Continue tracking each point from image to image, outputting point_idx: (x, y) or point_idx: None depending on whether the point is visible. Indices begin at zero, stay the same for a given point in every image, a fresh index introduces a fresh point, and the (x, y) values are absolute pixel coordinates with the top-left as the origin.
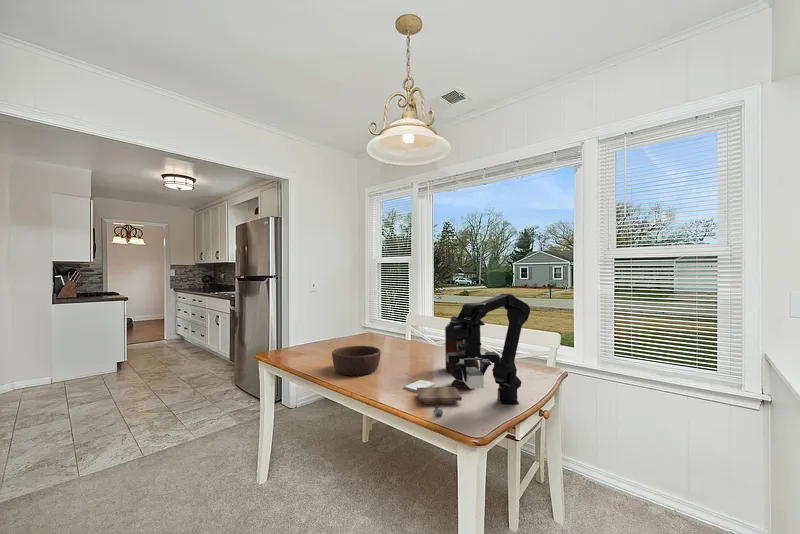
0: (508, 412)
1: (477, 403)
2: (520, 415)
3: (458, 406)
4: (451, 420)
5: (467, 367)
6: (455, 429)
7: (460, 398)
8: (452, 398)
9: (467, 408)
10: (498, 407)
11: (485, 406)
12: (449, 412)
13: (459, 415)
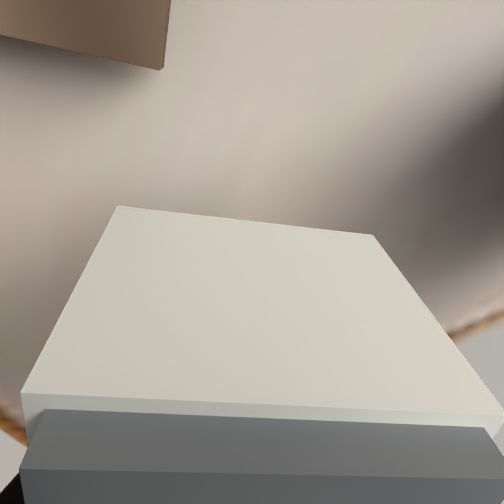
0: (447, 282)
1: (344, 58)
2: (477, 331)
3: (128, 79)
4: (6, 312)
5: (203, 490)
6: (13, 406)
7: (148, 66)
8: (45, 42)
9: (197, 147)
10: (451, 193)
11: (369, 147)
12: (11, 187)
13: (85, 255)
